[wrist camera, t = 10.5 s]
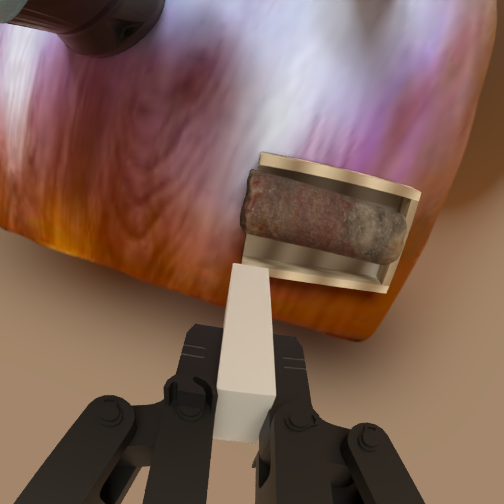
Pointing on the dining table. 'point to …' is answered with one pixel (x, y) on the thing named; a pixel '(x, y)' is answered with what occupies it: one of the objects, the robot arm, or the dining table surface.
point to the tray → (319, 262)
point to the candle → (320, 219)
